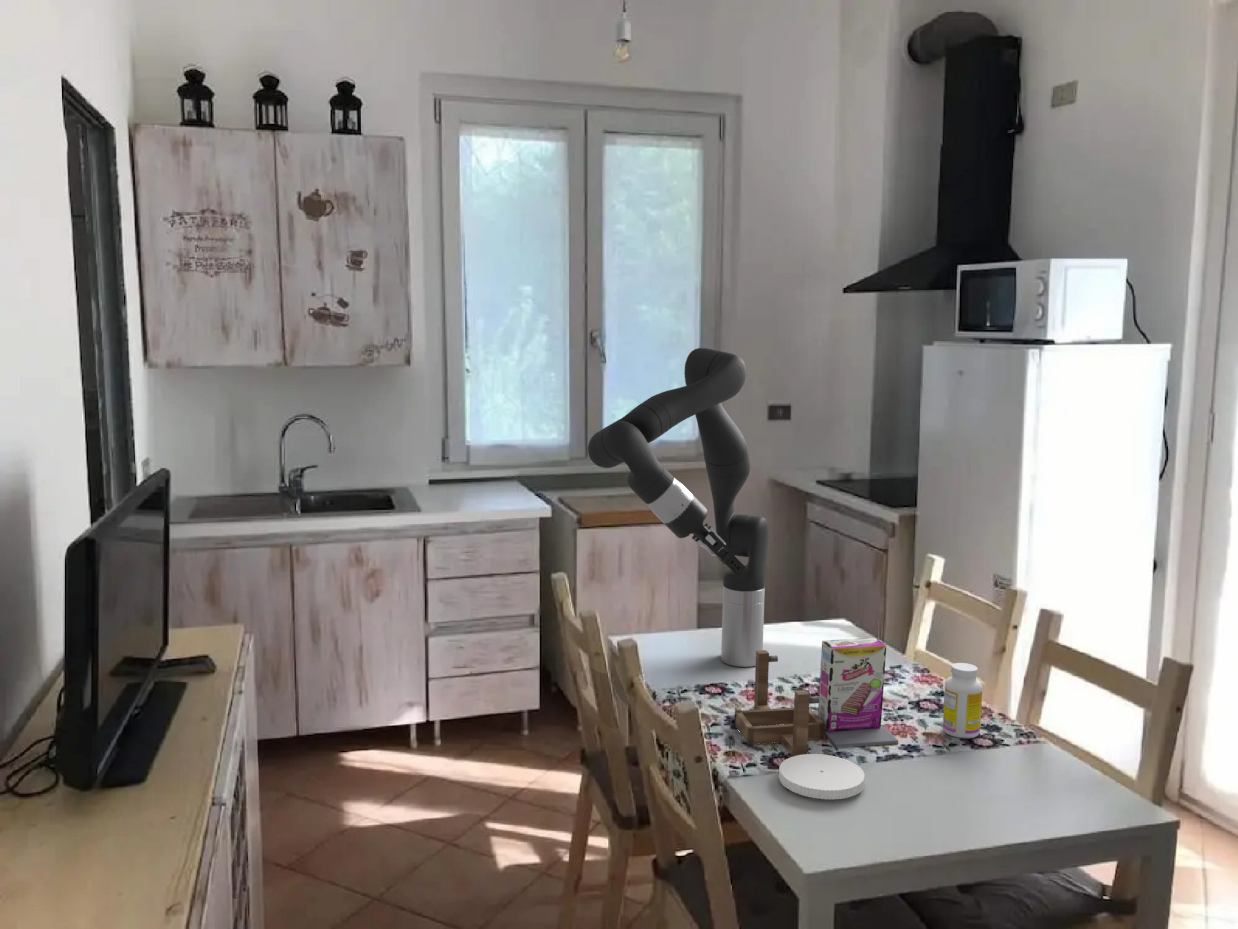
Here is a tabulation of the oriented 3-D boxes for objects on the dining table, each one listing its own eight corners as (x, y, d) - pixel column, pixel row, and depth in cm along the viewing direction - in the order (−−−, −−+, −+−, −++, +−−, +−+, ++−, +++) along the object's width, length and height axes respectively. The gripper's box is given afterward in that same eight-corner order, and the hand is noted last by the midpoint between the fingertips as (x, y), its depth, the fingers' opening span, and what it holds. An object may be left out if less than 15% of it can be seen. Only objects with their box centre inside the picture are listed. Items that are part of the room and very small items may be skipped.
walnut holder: (723, 710, 204) (725, 652, 202) (794, 706, 207) (796, 648, 205) (761, 762, 181) (763, 696, 179) (840, 757, 183) (843, 692, 182)
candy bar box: (827, 733, 192) (831, 648, 190) (816, 723, 197) (820, 639, 195) (883, 729, 195) (887, 644, 192) (871, 718, 200) (875, 636, 197)
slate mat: (804, 714, 203) (804, 711, 203) (862, 710, 205) (862, 707, 205) (835, 747, 187) (836, 744, 187) (898, 743, 190) (898, 740, 189)
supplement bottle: (981, 729, 197) (985, 664, 195) (977, 742, 191) (982, 675, 189) (944, 723, 199) (948, 658, 197) (939, 735, 193) (943, 669, 192)
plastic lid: (797, 761, 182) (797, 747, 182) (875, 780, 175) (876, 765, 175) (765, 792, 171) (766, 777, 170) (848, 813, 163) (848, 798, 163)
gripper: (700, 499, 183) (761, 561, 187) (681, 486, 197) (737, 543, 201) (670, 529, 183) (731, 590, 187) (653, 514, 197) (710, 571, 201)
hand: (734, 566), depth 194 cm, fingers open, 8 cm apart
